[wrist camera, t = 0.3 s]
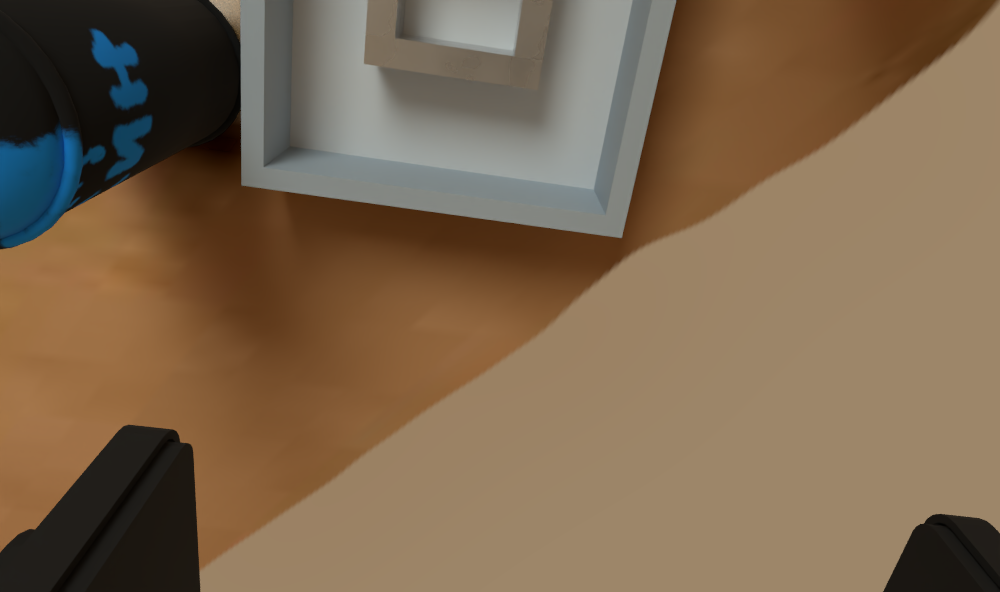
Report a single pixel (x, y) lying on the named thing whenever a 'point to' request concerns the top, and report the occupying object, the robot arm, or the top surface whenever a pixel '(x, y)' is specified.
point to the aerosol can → (104, 97)
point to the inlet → (458, 47)
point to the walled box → (453, 111)
